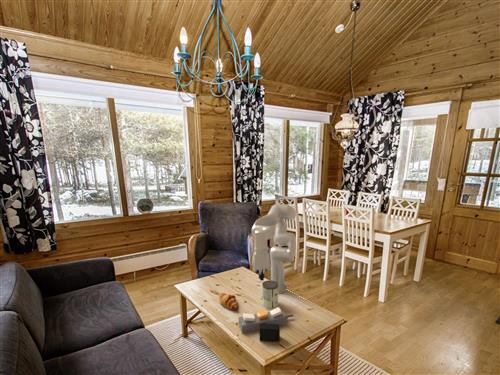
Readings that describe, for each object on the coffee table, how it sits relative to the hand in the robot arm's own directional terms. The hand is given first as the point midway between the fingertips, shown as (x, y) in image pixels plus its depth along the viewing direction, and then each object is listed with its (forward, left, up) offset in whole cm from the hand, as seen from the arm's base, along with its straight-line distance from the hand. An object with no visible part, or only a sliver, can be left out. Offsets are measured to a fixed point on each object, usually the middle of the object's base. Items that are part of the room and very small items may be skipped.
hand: (261, 279), depth 146 cm
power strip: (0, +9, -22) cm, 24 cm away
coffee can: (-9, -8, -22) cm, 25 cm away
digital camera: (+2, +20, -22) cm, 30 cm away
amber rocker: (+2, +9, -16) cm, 19 cm away
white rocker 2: (-6, +9, -16) cm, 19 cm away
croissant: (+17, -17, -23) cm, 33 cm away
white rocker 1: (+10, +9, -16) cm, 21 cm away
